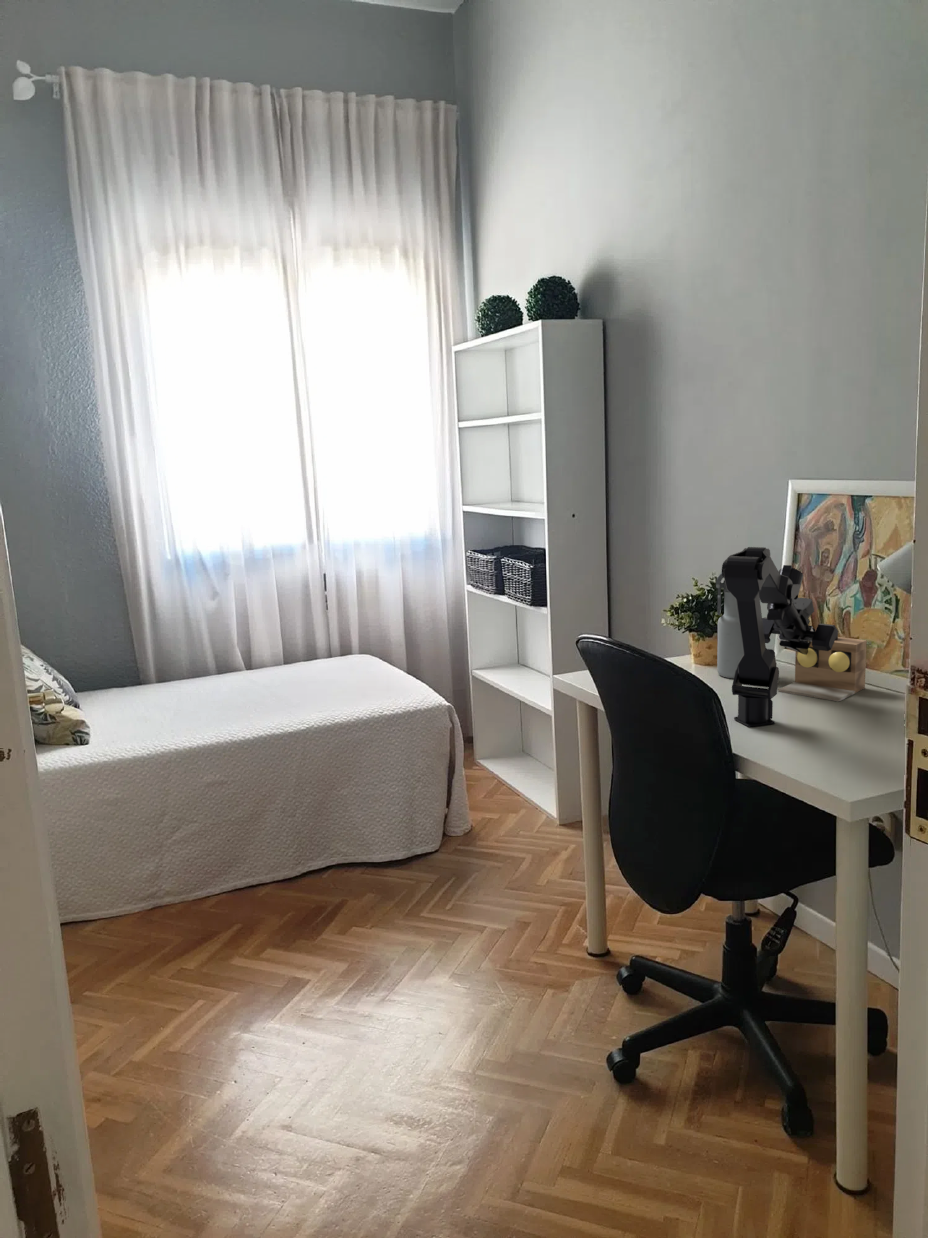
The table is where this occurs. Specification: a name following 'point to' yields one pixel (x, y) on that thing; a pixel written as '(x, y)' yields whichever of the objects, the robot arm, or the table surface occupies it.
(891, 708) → the table surface
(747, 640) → the robot arm
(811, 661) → the knob left
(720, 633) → the water bottle
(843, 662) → the knob right
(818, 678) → the console
